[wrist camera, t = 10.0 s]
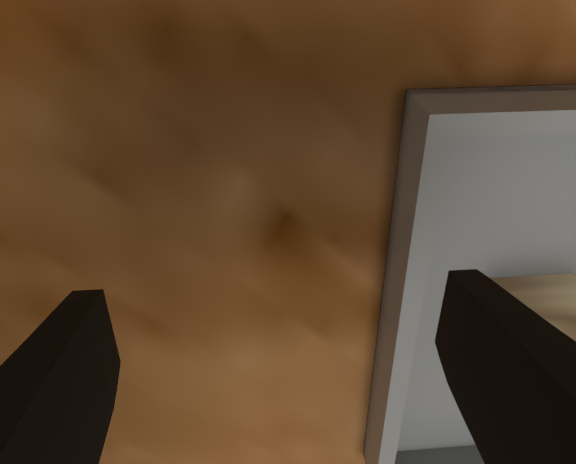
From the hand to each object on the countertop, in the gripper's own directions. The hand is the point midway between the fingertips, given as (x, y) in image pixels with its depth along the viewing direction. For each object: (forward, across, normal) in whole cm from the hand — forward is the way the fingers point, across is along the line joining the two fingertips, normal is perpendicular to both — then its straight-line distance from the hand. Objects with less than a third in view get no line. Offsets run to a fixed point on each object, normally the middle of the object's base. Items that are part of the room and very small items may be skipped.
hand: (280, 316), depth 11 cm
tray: (+9, -11, +8) cm, 16 cm away
